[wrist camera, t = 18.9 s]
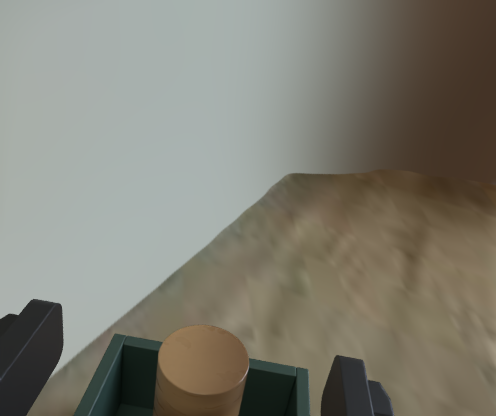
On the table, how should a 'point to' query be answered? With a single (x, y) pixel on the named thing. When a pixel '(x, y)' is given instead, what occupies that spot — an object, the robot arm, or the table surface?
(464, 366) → the table surface
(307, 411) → the bin
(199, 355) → the wooden cylinder
